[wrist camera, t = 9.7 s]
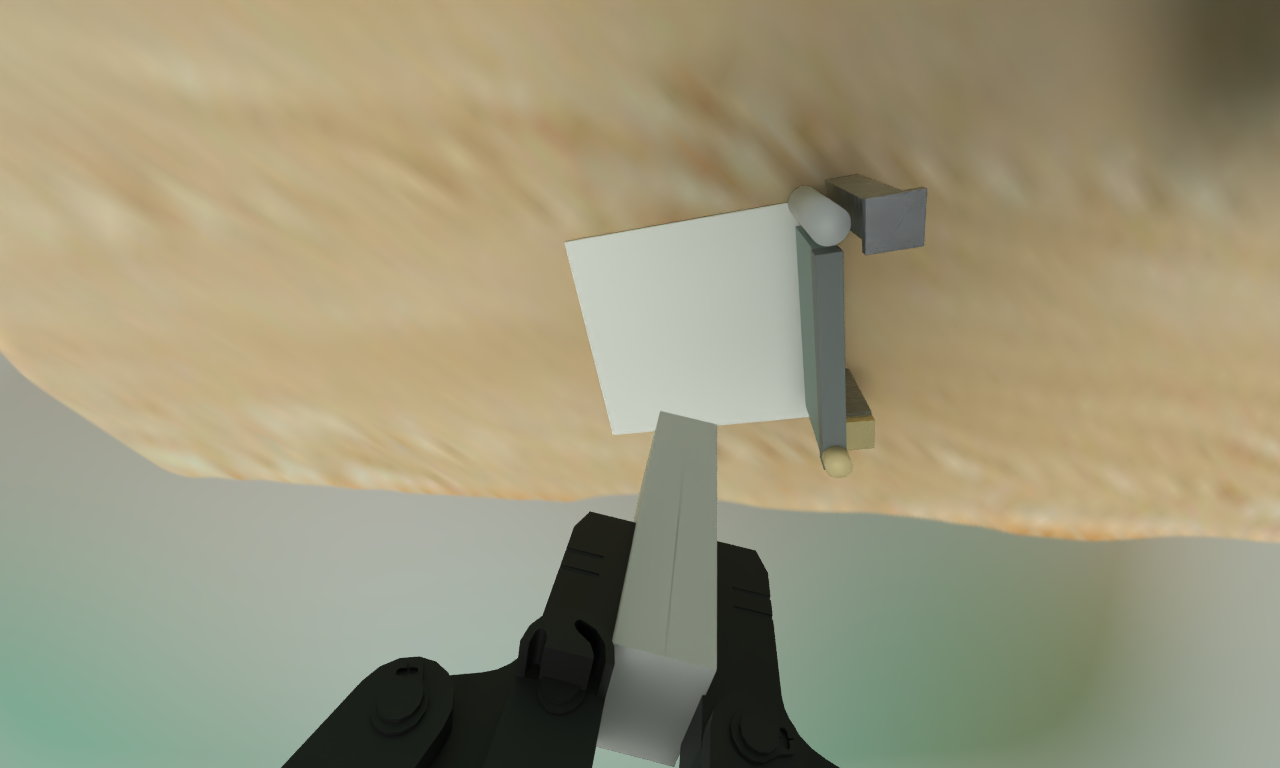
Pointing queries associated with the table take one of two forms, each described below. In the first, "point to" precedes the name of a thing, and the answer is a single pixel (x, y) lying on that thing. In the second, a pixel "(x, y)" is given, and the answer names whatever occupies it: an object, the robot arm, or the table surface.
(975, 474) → the table surface
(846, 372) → the post
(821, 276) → the gate
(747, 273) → the mat
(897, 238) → the hinge post
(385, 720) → the robot arm
